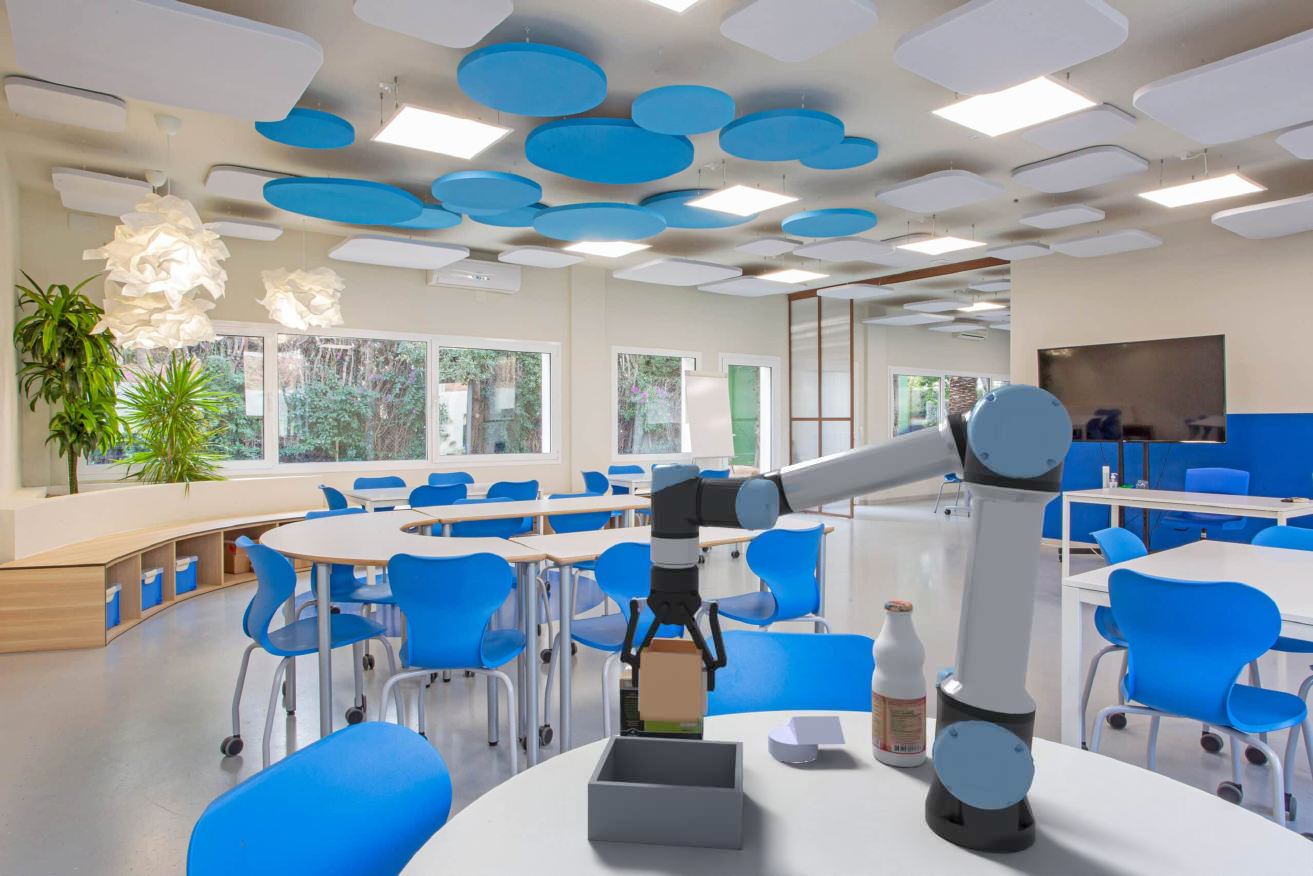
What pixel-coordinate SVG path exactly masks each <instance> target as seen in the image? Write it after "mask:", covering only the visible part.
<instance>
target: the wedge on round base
mask: <svg viewBox="0 0 1313 876" xmlns="http://www.w3.org/2000/svg"><path fill="white" fill-rule="evenodd" d="M842 728H843V727H842V725H841V721H840V716H838V715H834V716H832V715H827V716H826V715H825V716H824V715H822V716H818V715H817V716H816V715H815V716H811V715H810V716H809V715H808V716H805V715H803V716H792V717H791V719H790V722H789V723H788V725H781V726H776V727H773V728H771V729H770V730H769V731H768V732H767V733H768V734H767V738H768V739H767V744H768V746H767V752H769V753H770V754H771V755H772V757H771V758H773V757H774V758H773V759H775V758H776V759H775V760H777V759H779V760H782V761H781V762H783V761H787V762H786V763H788V762H805V761H810V760H813V759H815V758H816V757H817V755H818V756H819V745H846V741H845V736H844V733H843V729H842ZM769 753H768V754H769ZM817 758H818V757H817ZM817 758H816V759H817ZM816 759H815V760H816ZM779 760H778V761H779ZM813 761H814V760H813Z"/></svg>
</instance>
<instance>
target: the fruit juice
mask: <svg viewBox="0 0 1313 876" xmlns="http://www.w3.org/2000/svg"><path fill="white" fill-rule="evenodd" d="M913 611H914V607H913V603H911V602H907V601H901V600H888V601H885V602H884V612H885V618H884V622H883V625H882V627H881V631H880V632H879V633H878V636H877V637H876V639H874V642H873V645H872V656H873V660H874V665H875V667H874V670H873V673H872V679H871V751H872V754H873V756H874V758H875V759H876V760H878V761H880V762H881V763H883V764H886V765H889V766H892V767H899V768H912V767H918V766H921V765H923V764H924V763H925V762H926V757H927V683H926V682H927V681H926V677H925V675H924V671H923V668H924V664H925V660H926V651H925V650H926V649H925V647H924V645H923V643H922V641H921V640H920V638H919V637H918V635H917V632H916V628H915V627H914V623H913V620H912V614H913Z"/></svg>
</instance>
